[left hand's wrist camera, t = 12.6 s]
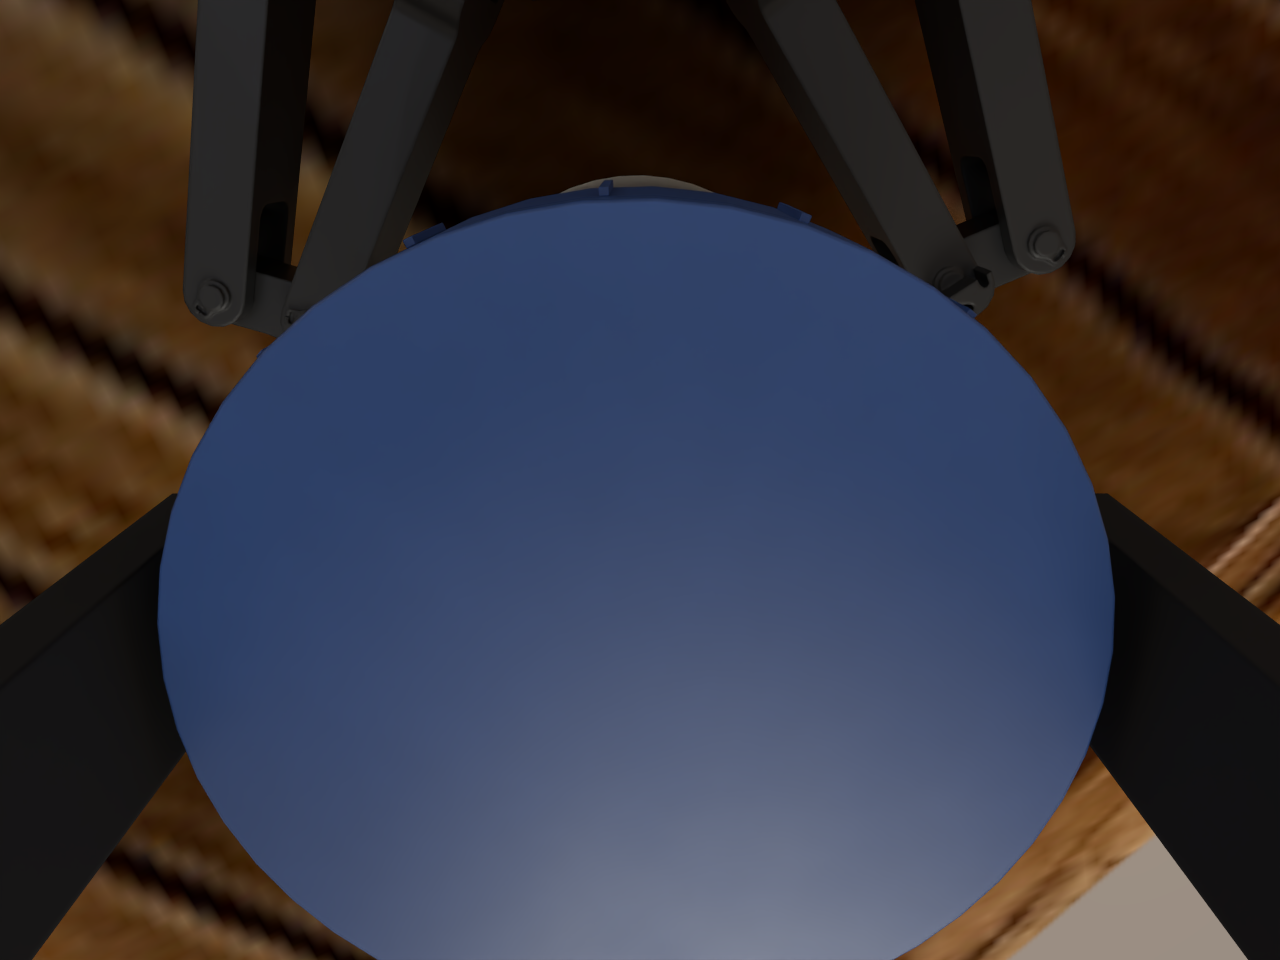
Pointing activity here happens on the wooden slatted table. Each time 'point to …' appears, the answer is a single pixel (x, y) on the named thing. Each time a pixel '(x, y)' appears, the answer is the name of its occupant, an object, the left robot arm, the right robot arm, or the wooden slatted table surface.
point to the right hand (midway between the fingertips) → (648, 593)
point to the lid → (636, 594)
